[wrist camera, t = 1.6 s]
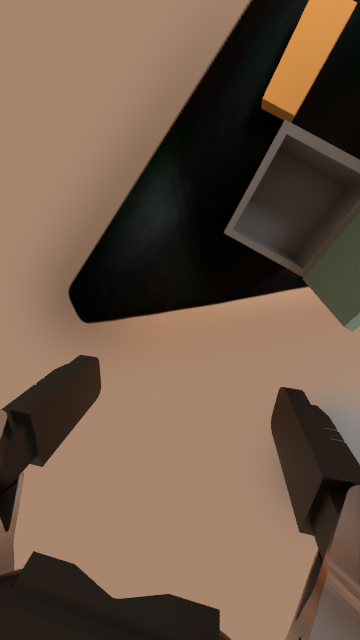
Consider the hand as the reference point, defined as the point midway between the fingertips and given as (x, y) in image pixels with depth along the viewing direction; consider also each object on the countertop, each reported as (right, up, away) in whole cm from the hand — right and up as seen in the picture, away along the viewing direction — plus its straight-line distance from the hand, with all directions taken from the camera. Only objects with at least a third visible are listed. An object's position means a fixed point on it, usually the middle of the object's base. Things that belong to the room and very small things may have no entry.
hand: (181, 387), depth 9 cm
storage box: (+14, +18, +20) cm, 31 cm away
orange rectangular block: (+13, +31, +14) cm, 36 cm away
